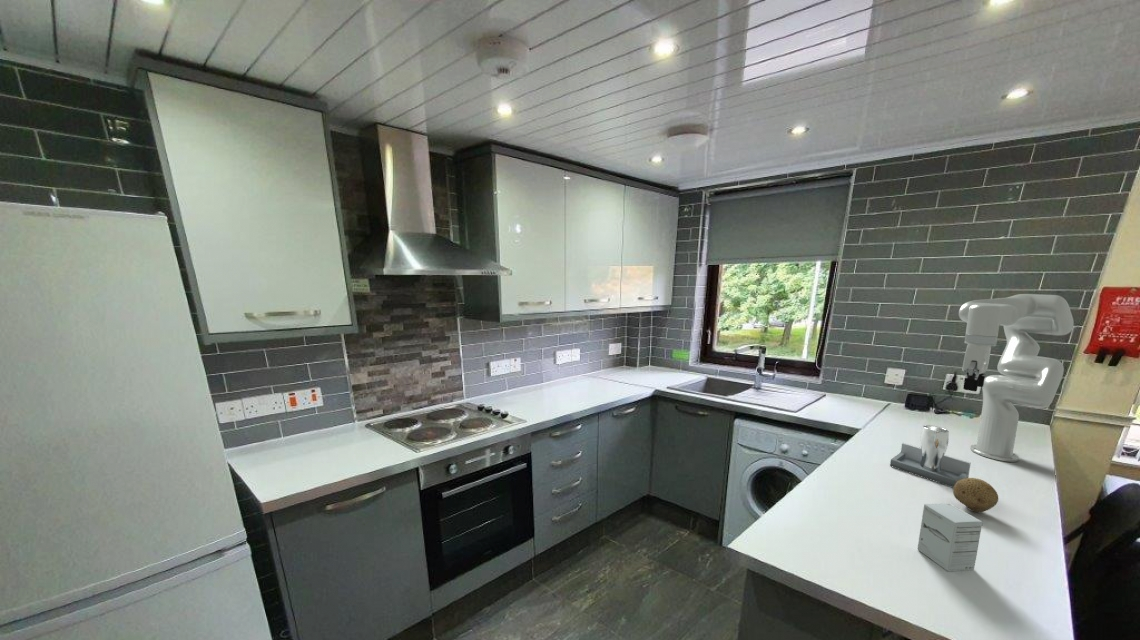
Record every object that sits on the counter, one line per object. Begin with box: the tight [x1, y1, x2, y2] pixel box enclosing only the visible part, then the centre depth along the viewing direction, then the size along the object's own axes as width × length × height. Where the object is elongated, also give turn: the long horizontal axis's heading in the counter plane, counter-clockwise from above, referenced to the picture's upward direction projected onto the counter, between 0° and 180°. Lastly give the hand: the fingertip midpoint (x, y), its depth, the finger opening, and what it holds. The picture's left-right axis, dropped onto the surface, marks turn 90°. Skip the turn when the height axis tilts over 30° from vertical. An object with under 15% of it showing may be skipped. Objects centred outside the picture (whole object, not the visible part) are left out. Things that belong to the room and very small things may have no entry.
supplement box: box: [917, 502, 983, 572], centre depth 91 cm, size 7×7×13 cm
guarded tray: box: [889, 442, 971, 488], centre depth 133 cm, size 12×18×6 cm, turn 34°
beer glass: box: [919, 424, 950, 473], centre depth 133 cm, size 7×7×15 cm
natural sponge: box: [952, 477, 999, 513], centre depth 111 cm, size 9×9×10 cm
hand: (973, 388), depth 132 cm, fingers open, 9 cm apart
